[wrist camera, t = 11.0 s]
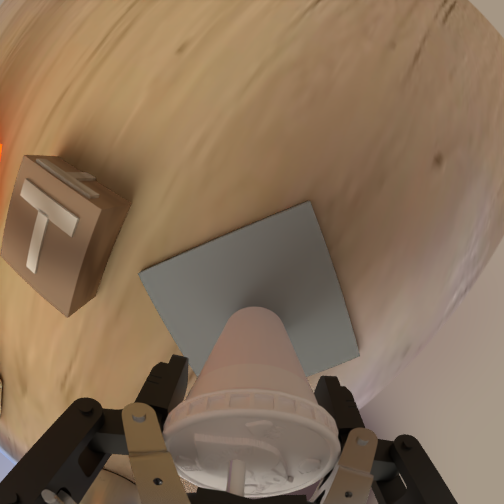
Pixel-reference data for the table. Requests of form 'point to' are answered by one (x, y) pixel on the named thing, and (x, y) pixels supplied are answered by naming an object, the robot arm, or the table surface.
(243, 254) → the slate pad
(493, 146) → the table surface
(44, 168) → the lettered block
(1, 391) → the storage basket
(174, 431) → the smoothie
